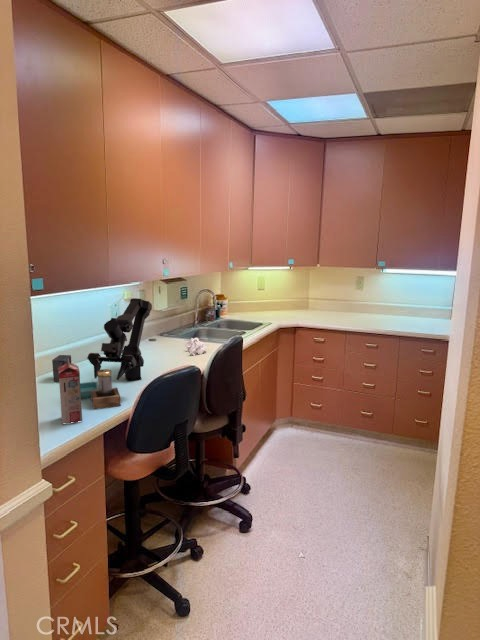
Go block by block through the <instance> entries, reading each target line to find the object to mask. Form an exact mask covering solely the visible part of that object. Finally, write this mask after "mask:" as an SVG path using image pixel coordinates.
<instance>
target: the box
mask: <svg viewBox="0 0 480 640" xmlns="http://www.w3.org/2000/svg"><path fill="white" fill-rule="evenodd" d="M68 358H69V363H72V356H71V354H59V355H58V356H55V357H54V358H53V359H52V360H51V363H52V375H53V382H54V383H59V369H58V368H59V367H61V366H63V365H64V364H66V363H68Z"/></svg>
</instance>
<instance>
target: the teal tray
mask: <svg viewBox="0 0 480 640" xmlns="http://www.w3.org/2000/svg"><path fill="white" fill-rule="evenodd" d="M80 390H81V400H85V399H91V391H92V390H99V387H98V380H97V381H89V382H80Z"/></svg>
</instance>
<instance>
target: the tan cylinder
mask: <svg viewBox="0 0 480 640" xmlns="http://www.w3.org/2000/svg"><path fill="white" fill-rule="evenodd" d="M112 377H113V375H112V370H111V369H107V368H105V369H100V370H99V371H98V376H97V382H98V387H99V397H106V396H112V388H113V380H112Z"/></svg>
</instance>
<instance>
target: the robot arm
mask: <svg viewBox="0 0 480 640" xmlns="http://www.w3.org/2000/svg"><path fill="white" fill-rule="evenodd" d="M152 309H153V305H152V303H151V302H150V300H144V299H142V298H136V297H135V298H134V297H133V298H131V299H130V300H129V304H128V305H127V307H126V309H125V310H124V312H123V313H122V314H121V315H118V316H117V317H111V318H110V320H108V321H106V322H105V323H104V324H103V329H104V331H105V333H106V334H107V335H108V337H109V339H110V342H103V343H101V348H100V351H101V352H103V355H105V356H101V354H100V352H89V353H88V355H87V357H86V359H87V360H88V361H89V363H90V364H91V365H92V366H93V376H94V379H98V371H99V370H102V369H101V368H102V363H103V362H105V363H107V362H108V363H120V367H119V369H118V373H117V376H116V380H117V381H120V379H121V378H122V377H123V376H124V378H125V380H126V381H127V382H131V381H132V382H133V381H140V380H142V377H141V376H142V375H141V374H142V372H141V371H142V370H141V368H143V367H144V363H145V360H144V358H143V355H142V351H141V349H140V344H141V340H142V335H143V330H144V325H145V321H146V319H147V318H148V317H150V315H151V312H152ZM130 332H131V333H130ZM126 333H130V337H129V342H128V344H127V345H125V343H126V342H127V341H128V338H127V335H126Z"/></svg>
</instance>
